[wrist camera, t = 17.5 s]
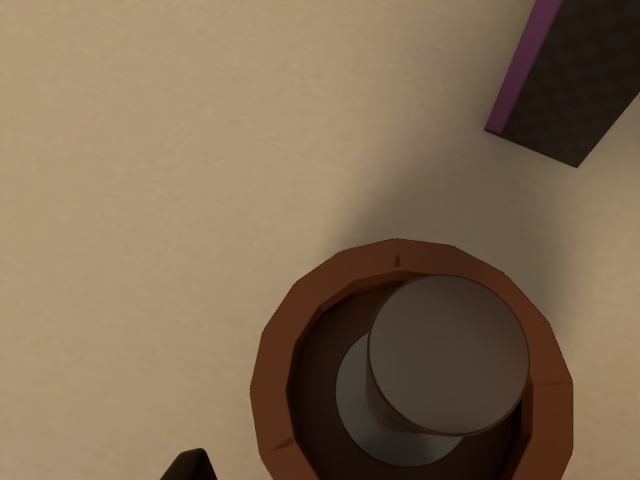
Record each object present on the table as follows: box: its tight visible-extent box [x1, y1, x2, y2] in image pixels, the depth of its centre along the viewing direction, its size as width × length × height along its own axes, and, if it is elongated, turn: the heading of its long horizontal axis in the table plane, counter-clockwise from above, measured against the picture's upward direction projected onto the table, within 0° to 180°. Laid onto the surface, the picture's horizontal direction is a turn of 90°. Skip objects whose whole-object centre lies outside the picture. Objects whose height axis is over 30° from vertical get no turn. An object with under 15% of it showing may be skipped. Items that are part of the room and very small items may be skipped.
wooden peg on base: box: [334, 274, 530, 468], centre depth 14 cm, size 5×5×13 cm
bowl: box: [250, 238, 573, 480], centre depth 18 cm, size 10×10×6 cm
